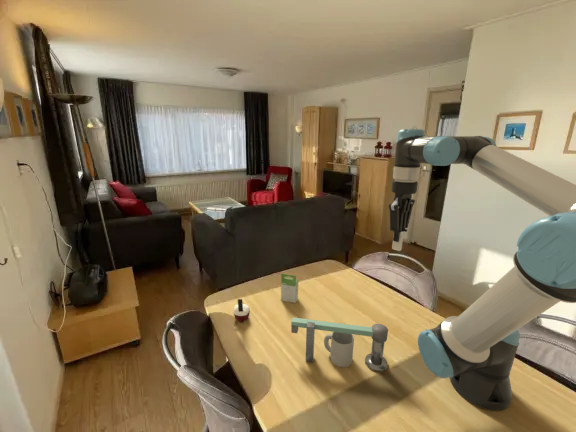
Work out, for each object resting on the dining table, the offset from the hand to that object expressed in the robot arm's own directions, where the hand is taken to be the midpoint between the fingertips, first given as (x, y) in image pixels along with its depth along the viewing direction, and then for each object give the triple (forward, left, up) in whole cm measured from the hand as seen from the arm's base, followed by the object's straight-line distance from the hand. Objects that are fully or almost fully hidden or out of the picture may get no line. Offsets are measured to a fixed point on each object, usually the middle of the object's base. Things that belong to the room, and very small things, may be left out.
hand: (396, 249), depth 95 cm
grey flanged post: (-5, +15, -34) cm, 38 cm away
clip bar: (+5, +23, -26) cm, 35 cm away
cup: (+5, +23, -35) cm, 42 cm away
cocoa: (+43, +36, -35) cm, 66 cm away
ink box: (+41, +12, -35) cm, 55 cm away
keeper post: (+10, +30, -34) cm, 47 cm away
